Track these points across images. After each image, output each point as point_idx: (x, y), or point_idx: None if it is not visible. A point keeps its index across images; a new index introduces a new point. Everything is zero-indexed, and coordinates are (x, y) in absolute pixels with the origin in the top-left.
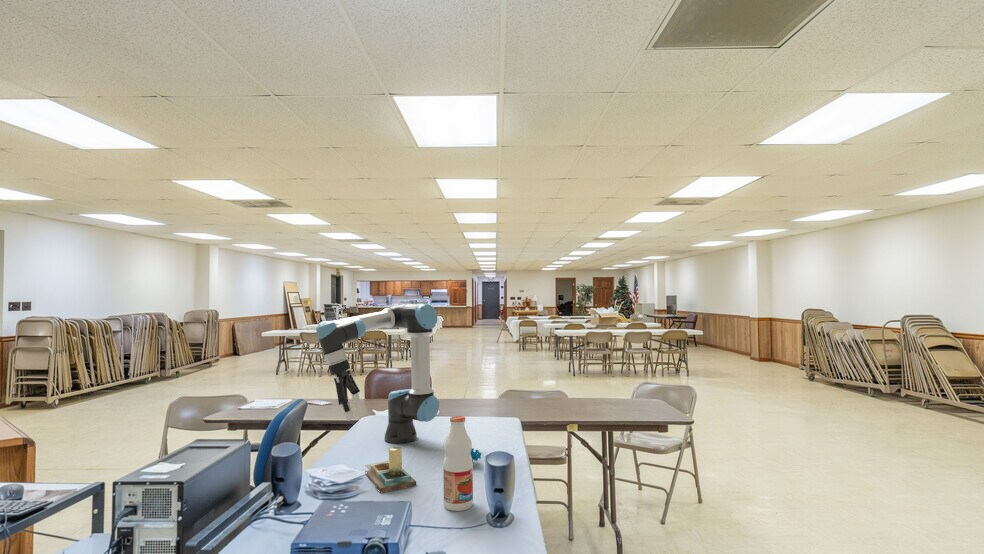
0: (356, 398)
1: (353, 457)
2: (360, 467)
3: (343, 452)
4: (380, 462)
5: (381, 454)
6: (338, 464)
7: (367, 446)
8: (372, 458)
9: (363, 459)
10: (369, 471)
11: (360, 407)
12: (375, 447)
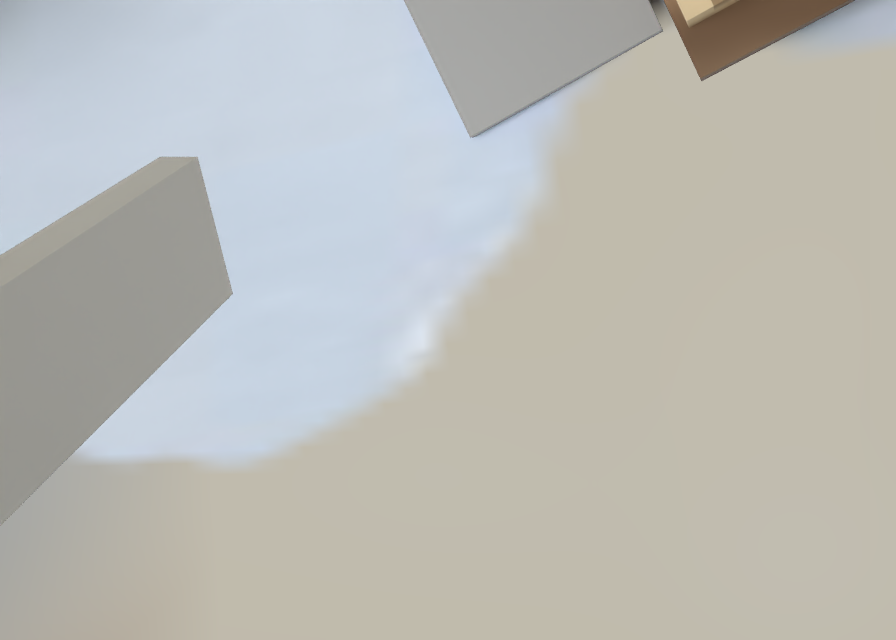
0: (33, 359)
1: (252, 287)
2: (492, 173)
3: (145, 389)
4: (407, 6)
5: (184, 61)
6: (406, 376)
7: (14, 228)
8: (277, 118)
9: (299, 192)
10: (721, 28)
11: (185, 215)
12: (31, 156)
